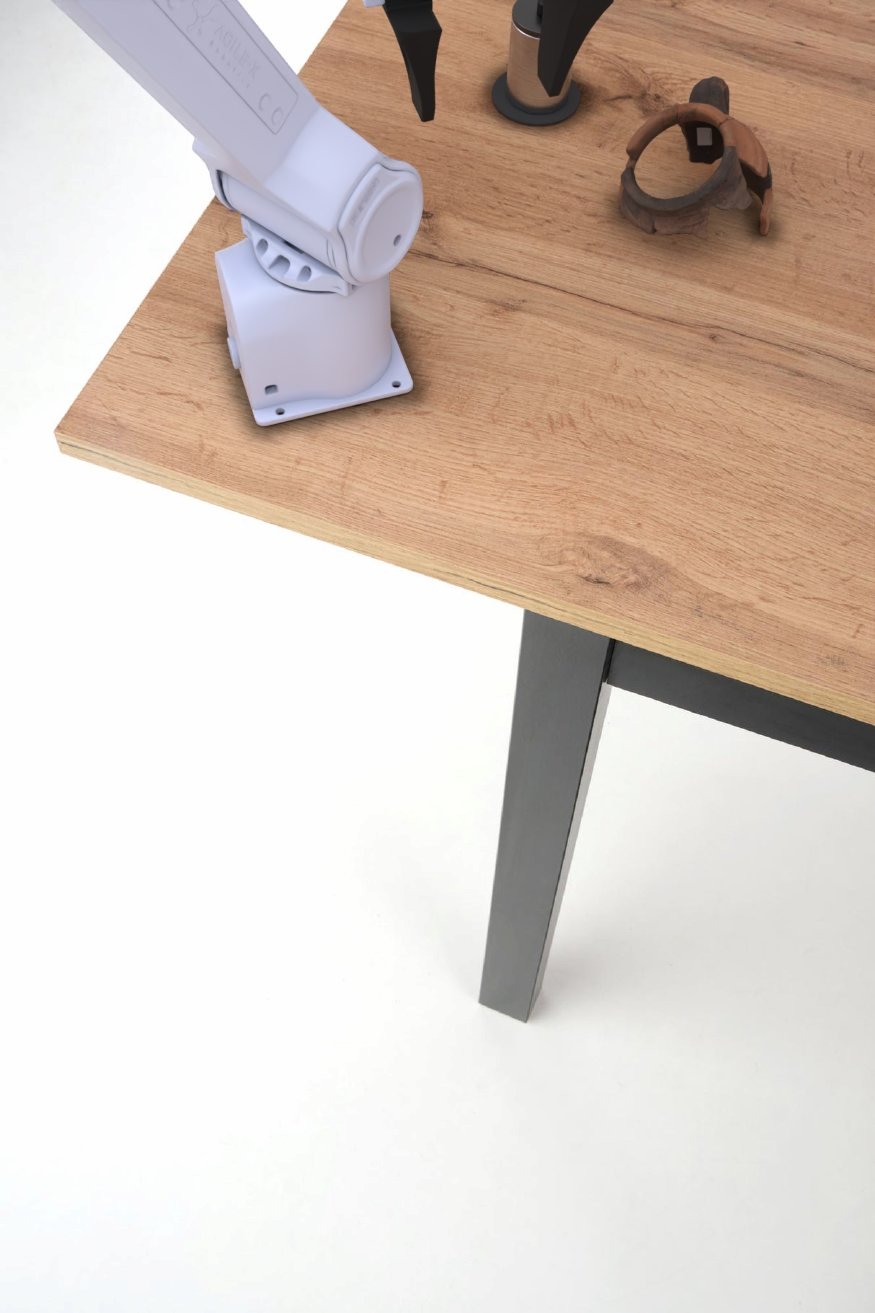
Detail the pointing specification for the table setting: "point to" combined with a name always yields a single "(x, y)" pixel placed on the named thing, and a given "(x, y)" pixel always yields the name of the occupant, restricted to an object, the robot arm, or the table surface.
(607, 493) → the table surface
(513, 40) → the steel pot
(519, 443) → the table surface
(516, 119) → the trivet
